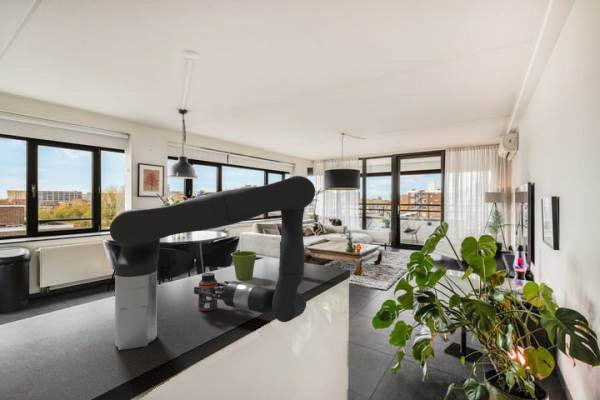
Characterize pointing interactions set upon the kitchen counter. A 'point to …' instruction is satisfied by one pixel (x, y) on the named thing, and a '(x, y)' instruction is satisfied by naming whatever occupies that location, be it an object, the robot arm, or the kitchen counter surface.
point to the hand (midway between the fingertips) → (202, 287)
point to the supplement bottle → (207, 282)
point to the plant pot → (244, 264)
